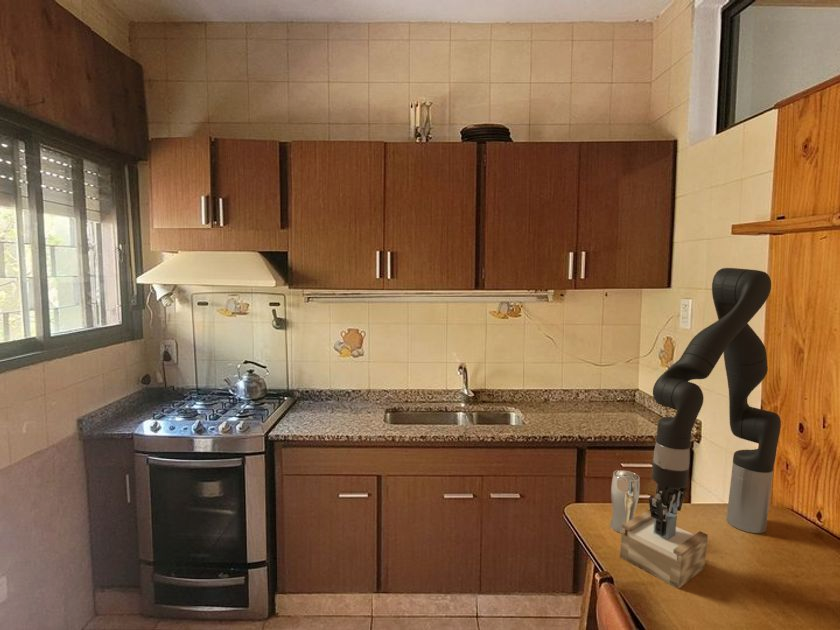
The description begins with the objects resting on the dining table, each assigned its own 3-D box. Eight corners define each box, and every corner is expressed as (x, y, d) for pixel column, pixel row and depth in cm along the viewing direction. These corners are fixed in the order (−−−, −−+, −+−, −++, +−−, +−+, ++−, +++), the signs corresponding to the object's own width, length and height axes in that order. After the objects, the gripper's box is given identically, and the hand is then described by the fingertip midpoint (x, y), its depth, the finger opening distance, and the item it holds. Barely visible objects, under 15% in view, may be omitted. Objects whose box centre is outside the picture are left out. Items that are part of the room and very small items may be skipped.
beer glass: (640, 528, 131) (644, 475, 130) (629, 538, 127) (634, 483, 125) (614, 518, 136) (619, 467, 135) (603, 527, 132) (608, 474, 130)
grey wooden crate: (647, 539, 126) (649, 509, 125) (704, 567, 115) (707, 534, 114) (619, 557, 118) (622, 524, 117) (678, 588, 107) (681, 553, 106)
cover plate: (652, 520, 124) (654, 497, 124) (701, 542, 115) (703, 518, 114) (627, 535, 117) (629, 511, 116) (676, 560, 108) (679, 533, 107)
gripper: (669, 451, 121) (663, 516, 123) (639, 463, 113) (633, 533, 114) (701, 461, 115) (694, 529, 117) (672, 475, 107) (665, 549, 109)
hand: (664, 531), depth 116 cm, fingers closed on cover plate, 3 cm apart
